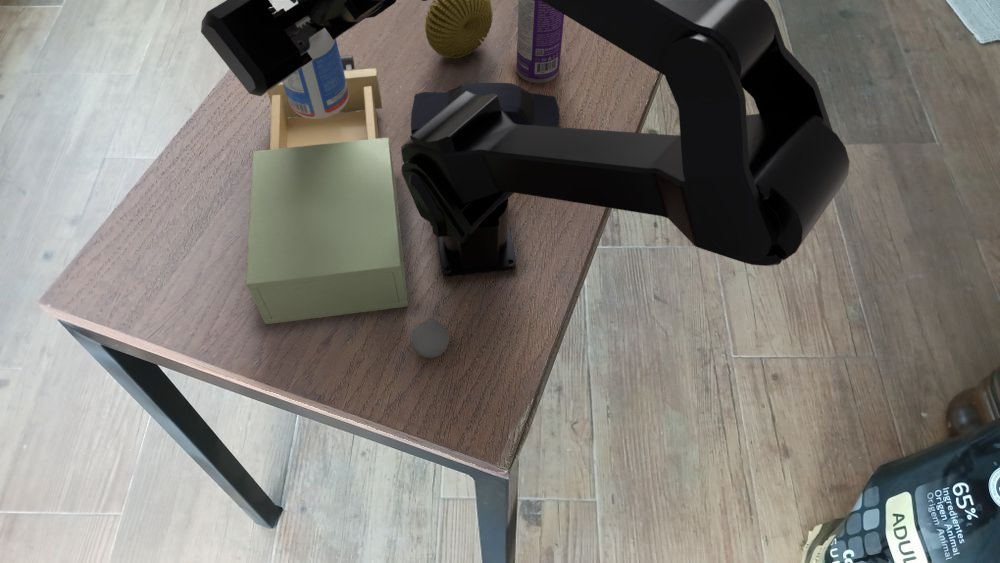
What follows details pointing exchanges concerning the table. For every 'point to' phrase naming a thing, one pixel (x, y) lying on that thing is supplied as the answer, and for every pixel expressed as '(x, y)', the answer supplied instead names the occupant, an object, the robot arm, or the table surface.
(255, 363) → the table surface
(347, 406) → the table surface
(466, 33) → the sculpture
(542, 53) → the container
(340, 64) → the pill bottle
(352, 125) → the drawer
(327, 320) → the table surface
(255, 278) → the cabinet
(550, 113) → the toy car
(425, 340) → the rubber ball
